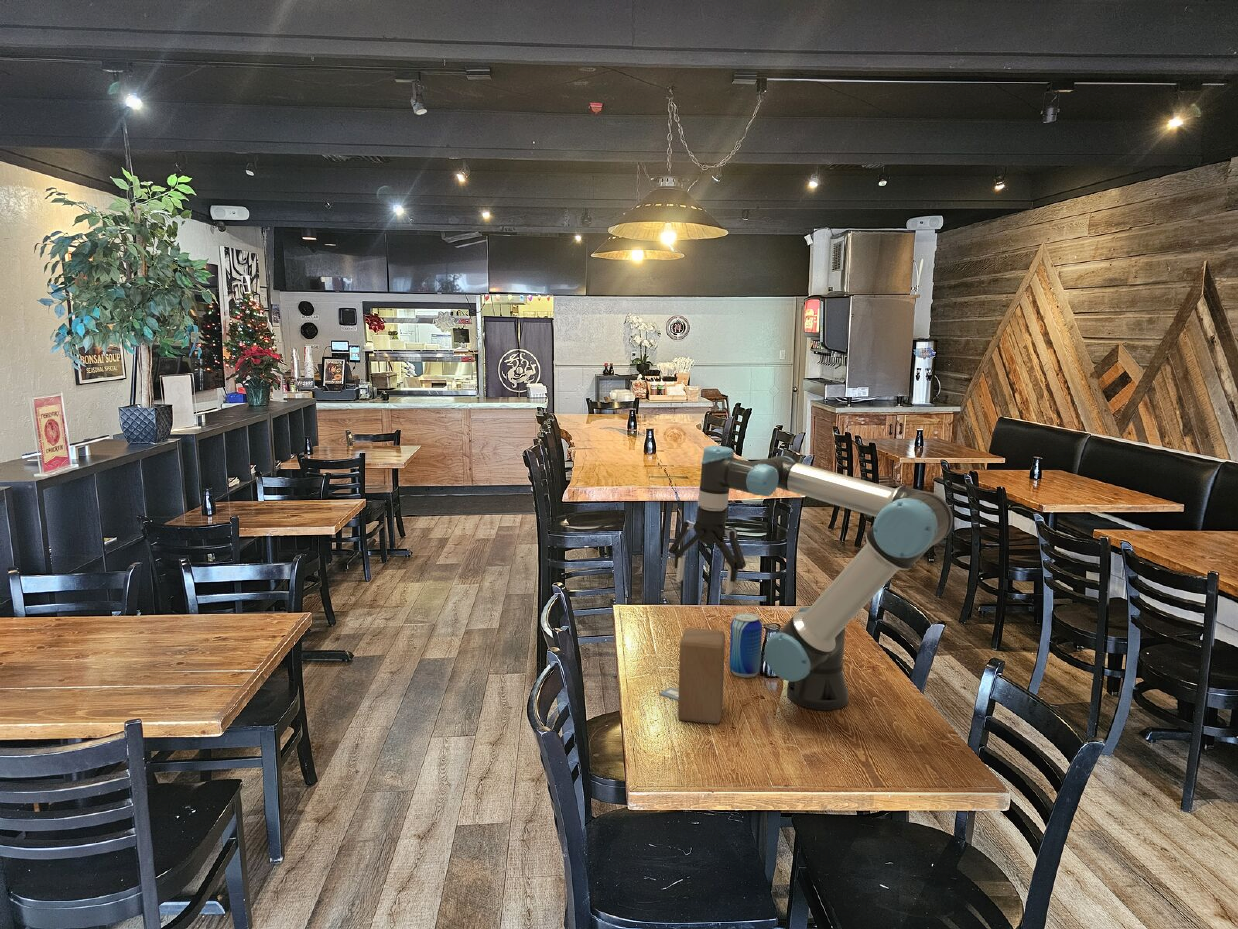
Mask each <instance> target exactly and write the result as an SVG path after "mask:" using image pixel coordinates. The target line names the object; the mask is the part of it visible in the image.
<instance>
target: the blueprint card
mask: <svg viewBox="0 0 1238 929" xmlns="http://www.w3.org/2000/svg"><path fill="white" fill-rule="evenodd" d="M658 694H659V696H662V697H664V698H669V699H670V698H671V699H670V700H673V699H674V701H676V700H677V702H678V697H679V688H675V687H671V686H669V687H668V688H666V689H664V690H662V691H660V692H659V693H658Z"/></svg>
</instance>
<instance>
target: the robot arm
mask: <svg viewBox="0 0 1238 929" xmlns="http://www.w3.org/2000/svg"><path fill="white" fill-rule="evenodd" d="M734 452H735V451H734V449H732V448H731V447H729V446H723V445H709V446H706V447H705V448H704V450H703V454H702V460H701V469H700V470H701V471H700V483H699V490H698V498H697V505H698V506H697V507H696V517H695V522H693V521H692V520H691V519H687V520H686V521H684V522H683V525H682V527H681V528H682V529H681V530H680V532H679V533H678V535H677V537H676V539H675V540H674V541H673V543H672V545H671V546H670V548H669V549H668V552H669V553H670V554H672V555H674V568H675V569H676V578H675V579H676V580H675V582H677V583H680V582H682V581H683V580H684V571H685V560H686V555H683V554H684V553H686V551H688V550H689V549H690V548H691V547H692V546H693V545H695V544H696V543H697V542H698V541H700V542H701V543H704V544H705V543H707V544H709V545H715V546H716V547H717V548H718V549H719V550H720V552H721V554H722V556H723V557H724V559H725V560H726V562H727V564H728V565H729V567H730V568H728V570H727V576H726V583H725V584H726V586H725V595H729V594H731V593H732V591H733V583H735V582H736V581H737V579H738V572H739V570H743V569H744V568H745V567H747V564H746V563H747V562H746V560H745V557H744V555H743V551H742V548H741V546H740V542H739V539H738V531H737V529H736V528H734V529H727V528H726V523H727V513H728V510H727V508H728V504H729V496H730V489H732V490H737V491H740V492H745V493H748V494H751V495H753V496H763V497H769V496H771V495H772V494H773V493H774V492H776V489H781V490H784V491H788V492H791V493H795V494H797V495H802V496H804V497H808V498H811V499H814V500H818V501H820V502H821V501H822V502H825V503H829V504H832V505H835V506H838V507H842V508H845V509H849V510H851V511H855V512H858V513H862V514H866V515H868V516H872V517H874V518H875V519H874V522H873V524H872V526H871V527H870V528H869V529H868V530H867V532H866V533H865V541H866V544H864V546H863V547H862V548H861V549H860V550H859V551H858V552H857V554H856V555H855V556H854V557H853V558H852V559H851V560H850V562H849V563H848V564H847V565H846V566H845V567H844V568H843V570H842V571H841V572H840V573H839V574H838V575H837V576H836V578H834V580H833V581H832V582H831V583H830V584H829V585H828V587H826V588H825V590H824V591H823V592H822V593H821V594H820V596H818V598H817V599H816V600H815V601H814V602H813V603H812V605H810V606H804V607H800V608H799V609H798V610H797V612H795V614H794V615H793V616H792V617H791V618H789V621H787V623H786V624H784V625H783V627H782V628H781V629H780V630H779V631H778V632H775V633H773V634H772V635H771V636H770V637H769V638H768V640H767V641H766V643H765V646H764V655H765V656H764V657H765V661H766V663H767V665H768V667H769V669H770V670H771V671H772V672H773V674H774V675H776V676H777V677H778V678H780V679H781V680H783V681H788V683H787V688H786V696H787V698H788V699H789V700H790V701H791V702H792V703H794V704H796V705H798V706H800V707H803V708H805V709H806V708H807V709H809V710H815V711H816V710H817V711H835V710H841V709H842V708H844V707H846V706H847V705H848V703H849V691H848V687H847V682H846V679H845V676H844V672H843V668H844V667H843V666H844V653H845V652H844V651H845V639H846V638H845V635H846V629H847V627H846V626H848V625H849V623H851V621H852V620H853V619H854V618H855V617H856V616H857V615H858V614H859V613H860V611H862V610H863V608H864V607H865V606H866V605H867V604H868V603H869V602H870V601H871V600H872V599H873V598H874V597H875V596H876V595H877V594H878V592H879V591H880V590H881V589H882V588H883V587H884V586H885V585H886V584H887V583H888V581H889V580H891V578H893V576H894V575H895V574H897V572H898V571H908V570H910V569H911V568H912V567H913V566H914V565H915V564H916V562H918V561H919V560H920V559H921V558H922V556H924V554H925V553H926V552H927V551H928V550H929V549H930V548H931V547H932V546H934V545H936V544H938V543H939V542H941V541H943V540H944V539H945V538H946V537H947V536H948V535H949V533H950V532H951V529H952V527H953V520H954V518H953V517H954V516H953V513H952V509H951V508H950V505H949V503H948V502H946V501H945V500H944V498H942V496H939V495H937V494H935V493H932V492H929V491H925V490H920V489H915V488H911V487H907V486H904V485H900V486H898V487H896V488H893V487H890V486H886V485H882V484H879V483H876V482H875V483H874V482H871V481H868V480H864V479H861V478H857V477H852V476H849V475H845V474H841V473H838V472H834V471H830V470H826V469H823V468H819V467H816V466H815V467H814V466H812V465H809V464H808V465H807V464H804V463H800V462H796V461H795V460H794V459H793V458H792V457H789V456H785V455H782V456H781V455H775V456H773V457H769V458H765V459H758V460H753V461H750V460H744V459H741V458H740V459H739V458H736V457H735V455H734ZM692 529H693V530H694V532H695V535H693V536H692V537H691V539H690V540H689V541H687V542H686V543H685V544H684V545H683V546H682V547H680V545H681V544H682V542H683V541H684V539H685V538H686V536H687V535H688V533H689V531H691V530H692ZM724 536H726V537H727V539H729V543H730V547H731V549H730V548H729V546H728V544H727V543H726V540H725V538H724ZM679 547H680V548H679ZM678 548H679V549H678ZM731 550H732V551H731ZM732 552H733V553H732Z"/></svg>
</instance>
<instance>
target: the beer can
mask: <svg viewBox="0 0 1238 929" xmlns="http://www.w3.org/2000/svg"><path fill="white" fill-rule="evenodd" d="M762 637H763V624H762V622H761V621H760V617H759V616H758V615H757V614H755V613H751V612H739V613H736V614H734V618H733V620H732V621H731V623H730V637H729V638H730V640H729V642H730V643H729V670H731V673H732V674H733V675H734V676H735V677H738V678H739V677H740V678H745V679H749V678H754V677H757V675H758V674H759V673H760V671H761V665H762V664H761V663H762V642H763V641H762V640H763V638H762Z"/></svg>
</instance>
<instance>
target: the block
mask: <svg viewBox="0 0 1238 929" xmlns="http://www.w3.org/2000/svg"><path fill="white" fill-rule="evenodd" d="M725 634H726V633H725V632H724V631H723V630H719V629H718V630H714V629H703V628H695V627H694V628H690V627H687V628H685V629H684V631H683V634H682V636H681V638H680V641H679V660H678V661H679V662H678V665H679V666H678V690H679V697H678V701H677V702H678V704H677V717H678V720H680V721H685V722H693V723H695V722H696V723H704V724H712V725H713V724H714V725H717V724H719V723H720V722H721V718H722V711H723V705H724V702H723V701H724V700H723V699H724V679H725V678H724V676H725V650H726V648H725V646H726V635H725Z"/></svg>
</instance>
